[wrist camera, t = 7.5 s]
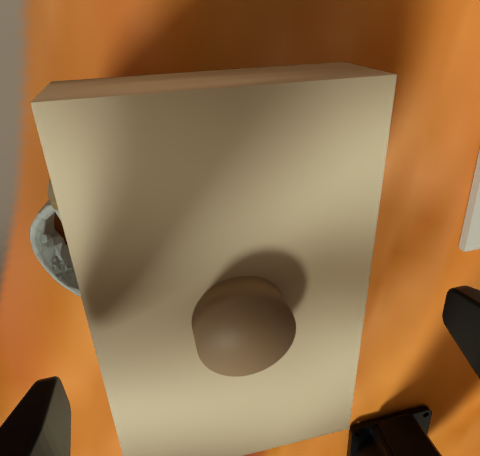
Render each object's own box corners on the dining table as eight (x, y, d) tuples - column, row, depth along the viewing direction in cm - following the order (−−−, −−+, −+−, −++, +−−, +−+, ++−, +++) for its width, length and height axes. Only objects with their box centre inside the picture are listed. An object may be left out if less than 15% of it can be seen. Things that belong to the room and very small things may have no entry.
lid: (319, 373, 16) (360, 450, 13) (129, 415, 14) (130, 512, 12) (344, 61, 11) (420, 80, 8) (50, 81, 9) (20, 112, 7)
